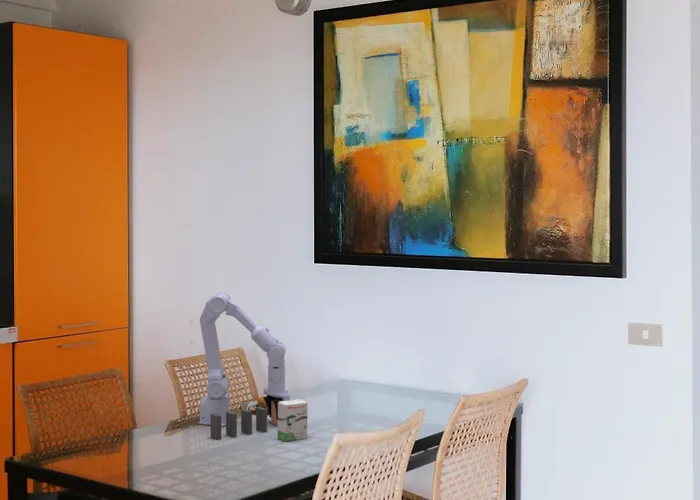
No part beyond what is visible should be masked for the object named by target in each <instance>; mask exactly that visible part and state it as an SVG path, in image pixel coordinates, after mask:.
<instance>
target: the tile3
mask: <svg viewBox="0 0 700 500" xmlns="http://www.w3.org/2000/svg"><path fill="white" fill-rule="evenodd" d="M240 419H241V420H240V432H241V433H242V434H245V435H247V436H250V435H253V415H252V411H250V410H248V408H244V409H240Z"/></svg>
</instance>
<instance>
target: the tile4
mask: <svg viewBox="0 0 700 500" xmlns="http://www.w3.org/2000/svg"><path fill="white" fill-rule="evenodd" d="M237 430H238V415H237V413H236V412H234V411H231V410H229V411H227V412H226V425H225V435H226V436H229V437H231V438H237V437H238V431H237Z"/></svg>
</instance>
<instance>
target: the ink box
mask: <svg viewBox="0 0 700 500" xmlns="http://www.w3.org/2000/svg"><path fill="white" fill-rule="evenodd" d="M277 439H278V440H281V441H283V442H291V441H297V440H298V441H299V440H302V439H303V440H305V439H308V402H307V401H305V400H303V399H301V398H297V399H290V400H289V401H280V402H278V426H277Z"/></svg>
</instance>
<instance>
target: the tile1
mask: <svg viewBox="0 0 700 500" xmlns="http://www.w3.org/2000/svg"><path fill="white" fill-rule="evenodd" d="M270 423H271V424H272V425H275V426H277V427H278V420H277V418H276V409H275V405H274V403H273V401H271V418H270Z"/></svg>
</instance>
